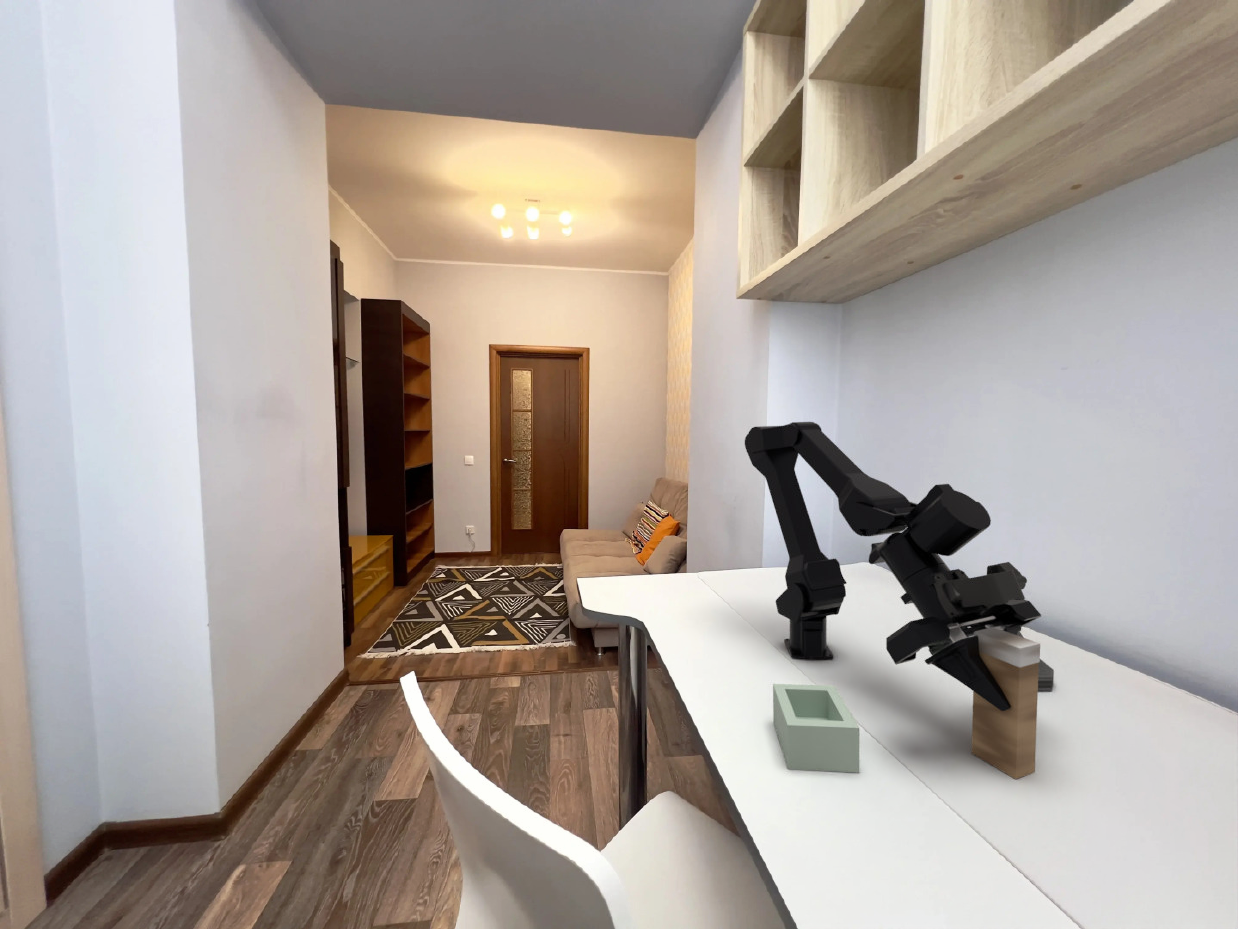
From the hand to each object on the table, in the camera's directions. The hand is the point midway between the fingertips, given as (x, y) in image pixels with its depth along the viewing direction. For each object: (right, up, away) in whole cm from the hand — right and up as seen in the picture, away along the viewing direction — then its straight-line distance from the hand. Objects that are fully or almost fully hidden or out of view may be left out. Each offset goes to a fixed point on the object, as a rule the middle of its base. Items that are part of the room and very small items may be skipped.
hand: (1017, 706), depth 53 cm
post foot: (-19, -7, +6) cm, 22 cm away
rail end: (0, -7, +2) cm, 7 cm away
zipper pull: (+18, -5, +28) cm, 33 cm away
